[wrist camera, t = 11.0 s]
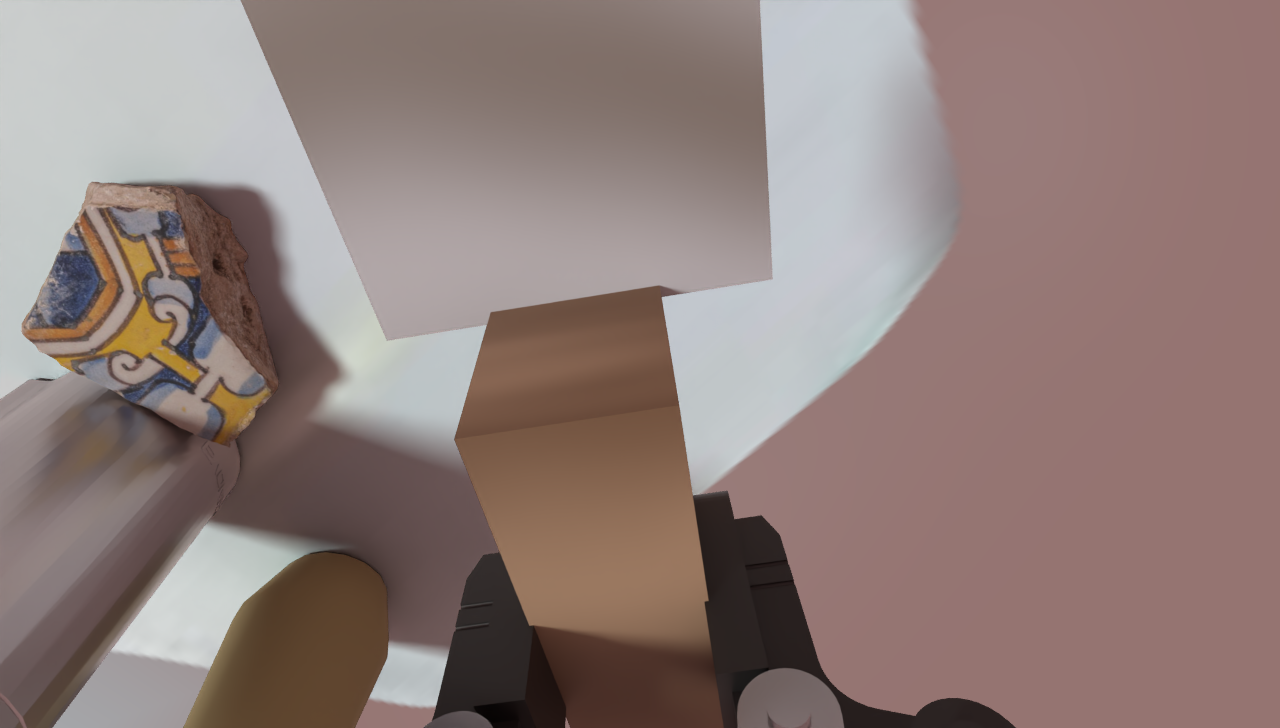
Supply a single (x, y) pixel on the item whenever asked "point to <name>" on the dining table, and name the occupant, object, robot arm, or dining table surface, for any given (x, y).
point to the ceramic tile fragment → (158, 309)
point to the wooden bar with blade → (553, 279)
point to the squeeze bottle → (300, 650)
